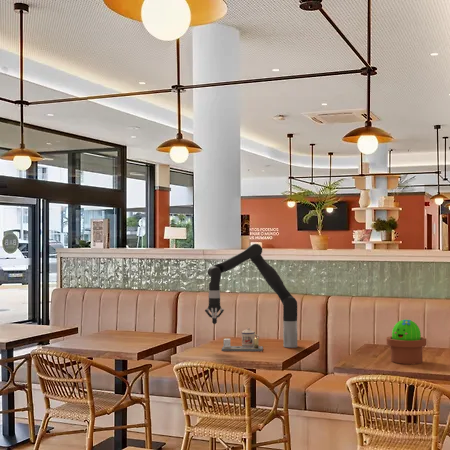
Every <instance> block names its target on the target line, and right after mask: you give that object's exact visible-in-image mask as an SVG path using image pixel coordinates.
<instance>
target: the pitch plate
mask: <svg viewBox="0 0 450 450" xmlns="http://www.w3.org/2000/svg"><path fill="white" fill-rule="evenodd" d="M259 342H260V341H259V340H258V337H255V338H254V346H243V345H230V348H224V345H223V346H222V348H221V352H263V349H264V347H263V346H262V345H261V346H259Z"/></svg>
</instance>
